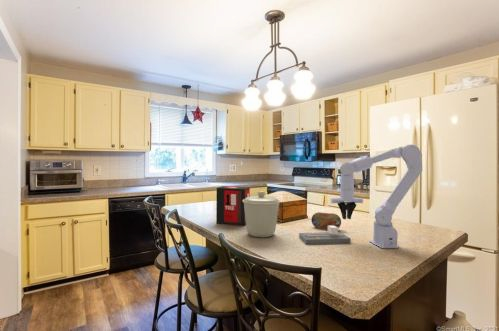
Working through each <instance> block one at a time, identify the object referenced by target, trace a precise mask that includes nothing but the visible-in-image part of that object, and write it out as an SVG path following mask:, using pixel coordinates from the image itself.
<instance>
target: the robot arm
mask: <svg viewBox="0 0 499 331" xmlns="http://www.w3.org/2000/svg"><path fill="white" fill-rule="evenodd" d="M392 158H394V159H401V158H402V160H403V161H404V162H405V165H406V168H407V169H406V172H405V173H403V176H401V179H400V180H399V182H397V183H396V184H397V185H396V186H395V187H394V189H393V190H392V192H391V193H390V194H389V196H388V197H387V199H386V200H385V201H384V202H383V203H382V205H381V206H379V207H377V208H376V209H375V212H374V214H375V215H374V218H375V220H374V221H373V235H372V236H373V238H372V239H371V240H368V242H369V243H371V244H373V245H375V246H376V245H377V246H376V247H378V246H379V248H380V249H398V247H399V248H400V246H398V237H399V236H398V230H397V229H396V228H394V225H393V222H392V219H393V215H394V213H395V211H396V209H397V207H398V206H399V205H400V203H401V202H402V200H403V199H404V197H405V196H406V195H407V194H408V192H409V191H410V189H411V188H412V186H413V185H414V183H415V182H416V180H418V178H419V176H420V175H421V174H422V172H423V154H422V152H421V149H420V148H419V147H418V146H417V145H415V144H407V145H405V146H398V147H394V148H391V149H388V150H386V151H383V152H381V153H377V154H376V155H373V156H368V155H363V154H362V155H360V156H359V158H355V159H353V160H352V159H350V160H349V162H347V161H346V162H344V163H342V164H341V165H340V168H339V170H340V190H339V192H340V194H339V197H336V198H330V204H337V206H338V207H339V211H340V213H341V218H342V219H343V220H347V219H348V220H351V219H352V216H353V212H354V210H355V208H357V204H364V198H362V197H360V198H358V197H354V196H355V195H354V194H355V179H354V178H355V177H354V173H360V172H362V171H366V170H369V169H372V167H373V165H374V164H376V163H379V162H383V161H386V160H389V159H392ZM342 219H341V220H342Z"/></svg>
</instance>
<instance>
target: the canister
mask: <svg viewBox="0 0 499 331" xmlns="http://www.w3.org/2000/svg"><path fill="white" fill-rule="evenodd" d="M242 201H243V203H244V210H245V220H246V225H245V226H246V231H247V232H246V233H248V235H249V236H251V237H253V238H269V237H272V236H273V235H274V234H275V233H276V228H277V222H278V213H279V206H280V203H281V200H280V199H278V198H277V197H274V196H270V195H268V196H267V195H266V193H265V191H264V190H259V191H258V192H257V195H253V196H252V195H250V197H247V198H245V199H244V200H242Z"/></svg>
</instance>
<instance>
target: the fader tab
mask: <svg viewBox="0 0 499 331" xmlns="http://www.w3.org/2000/svg"><path fill="white" fill-rule="evenodd" d="M327 232H328V233H330V234H331V235H335V234H338V232H339V228H337V227H336V226H334V225H333V226H328V229H327Z"/></svg>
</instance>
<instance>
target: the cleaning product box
mask: <svg viewBox="0 0 499 331" xmlns="http://www.w3.org/2000/svg"><path fill="white" fill-rule="evenodd" d="M250 192H251V190H250V187H247V186H246V187H245V186H225V185H224V186H223V185H222V186H218V187H216V206H215V207H216V209H215V210H216V212H215V213H216V218H215V219H216V224H217V225H227V226H228V225H229V226H240V227H245V226H246V220H245V210H244V203H243V201H242V200H244V199H245V198H247V197H250V196H251V195H250V194H251V193H250Z"/></svg>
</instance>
